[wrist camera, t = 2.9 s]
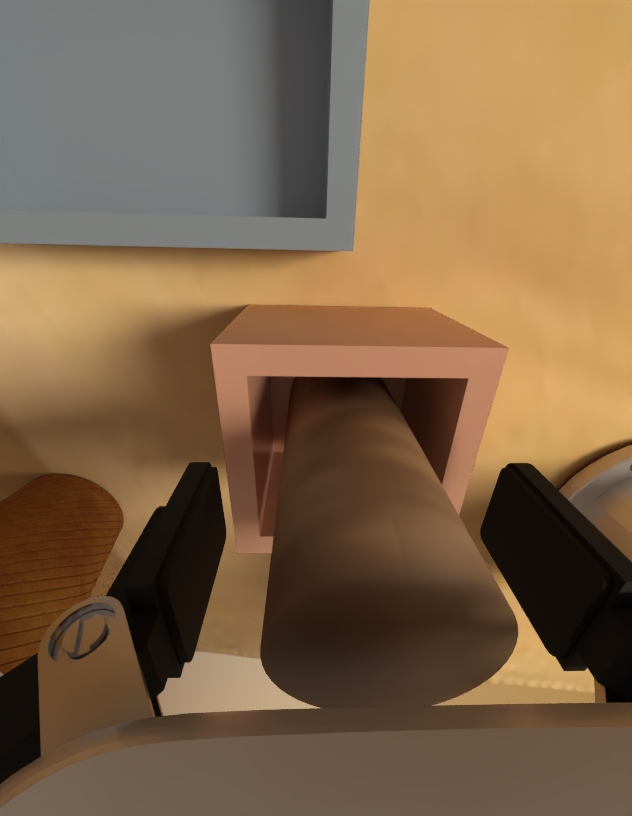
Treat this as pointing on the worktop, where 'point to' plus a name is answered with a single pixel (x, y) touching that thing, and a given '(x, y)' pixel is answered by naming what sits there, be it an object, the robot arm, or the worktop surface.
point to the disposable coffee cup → (50, 556)
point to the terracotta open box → (347, 357)
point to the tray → (181, 122)
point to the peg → (373, 563)
